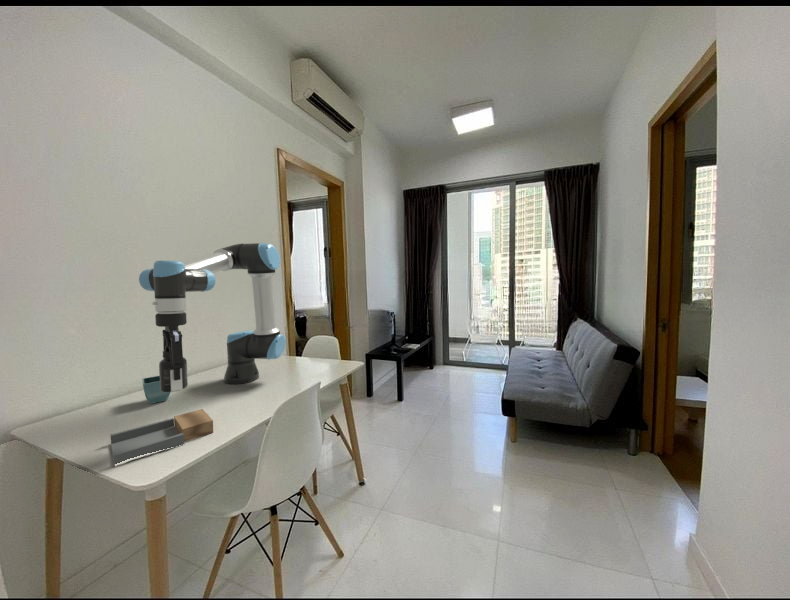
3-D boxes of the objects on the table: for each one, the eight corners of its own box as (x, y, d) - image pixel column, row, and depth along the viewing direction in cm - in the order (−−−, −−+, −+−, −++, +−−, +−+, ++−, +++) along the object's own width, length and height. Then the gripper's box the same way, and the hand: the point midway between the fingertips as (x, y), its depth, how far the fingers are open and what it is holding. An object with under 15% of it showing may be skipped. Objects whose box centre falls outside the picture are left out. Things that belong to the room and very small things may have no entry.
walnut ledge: (202, 420, 104) (202, 408, 104) (213, 432, 95) (212, 420, 95) (174, 428, 98) (174, 416, 98) (182, 442, 90) (182, 429, 89)
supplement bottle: (193, 385, 95) (191, 348, 94) (172, 393, 88) (171, 353, 88) (175, 384, 97) (173, 347, 96) (154, 391, 90) (152, 351, 89)
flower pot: (144, 407, 114) (142, 384, 114) (143, 400, 121) (142, 378, 120) (172, 401, 120) (171, 379, 119) (170, 394, 127) (169, 373, 126)
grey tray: (173, 426, 99) (173, 417, 99) (184, 444, 89) (183, 434, 88) (111, 444, 88) (110, 434, 88) (114, 466, 78) (113, 455, 78)
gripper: (149, 310, 95) (153, 382, 97) (161, 315, 82) (165, 399, 83) (178, 309, 101) (181, 377, 102) (194, 313, 87) (197, 392, 88)
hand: (174, 386), depth 92 cm, fingers closed on supplement bottle, 7 cm apart
